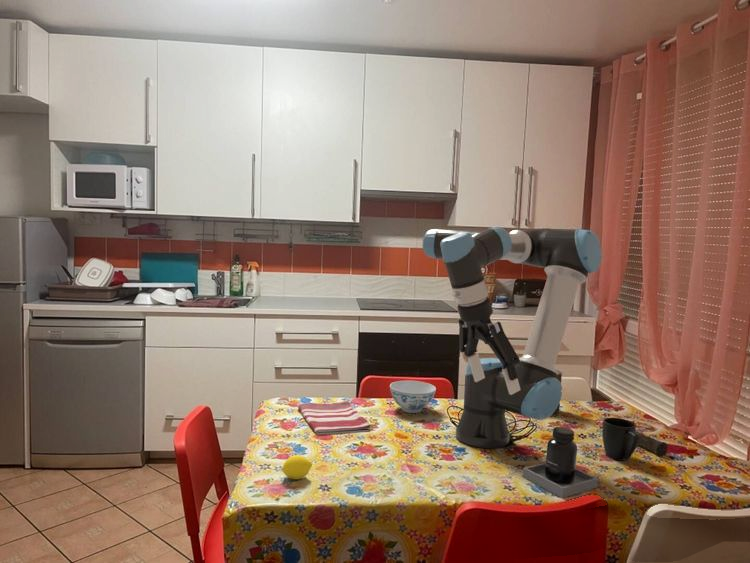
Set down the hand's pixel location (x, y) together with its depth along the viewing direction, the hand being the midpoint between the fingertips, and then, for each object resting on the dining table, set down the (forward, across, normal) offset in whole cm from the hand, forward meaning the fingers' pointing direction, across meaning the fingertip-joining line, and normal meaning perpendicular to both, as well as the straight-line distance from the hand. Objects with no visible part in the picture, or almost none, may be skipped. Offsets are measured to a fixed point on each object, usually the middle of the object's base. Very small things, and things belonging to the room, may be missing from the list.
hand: (496, 385), depth 133 cm
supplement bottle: (+27, +4, +7) cm, 28 cm away
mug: (+37, -2, +32) cm, 48 cm away
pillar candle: (+37, -42, +40) cm, 69 cm away
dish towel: (+12, -53, -27) cm, 61 cm away
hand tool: (+41, -9, +44) cm, 61 cm away
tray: (+28, +4, +7) cm, 29 cm away
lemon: (+6, -17, -48) cm, 51 cm away
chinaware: (+21, -55, -1) cm, 59 cm away
